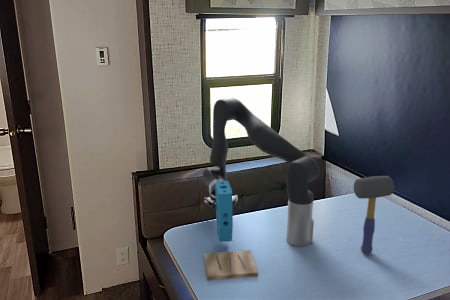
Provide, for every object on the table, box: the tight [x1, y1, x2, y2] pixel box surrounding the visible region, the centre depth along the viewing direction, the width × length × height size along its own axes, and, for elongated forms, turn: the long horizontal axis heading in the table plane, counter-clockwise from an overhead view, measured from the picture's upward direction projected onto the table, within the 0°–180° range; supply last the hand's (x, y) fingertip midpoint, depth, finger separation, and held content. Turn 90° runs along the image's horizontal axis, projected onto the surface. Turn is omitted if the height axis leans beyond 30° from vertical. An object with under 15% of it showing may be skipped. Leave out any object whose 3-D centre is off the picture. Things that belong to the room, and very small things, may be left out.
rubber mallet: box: [353, 175, 395, 256], centre depth 155 cm, size 12×8×30 cm, turn 103°
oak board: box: [203, 249, 259, 281], centre depth 151 cm, size 17×14×2 cm
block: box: [215, 180, 234, 243], centre depth 161 cm, size 12×5×20 cm, turn 7°
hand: (223, 209), depth 161 cm, fingers closed on block, 2 cm apart
